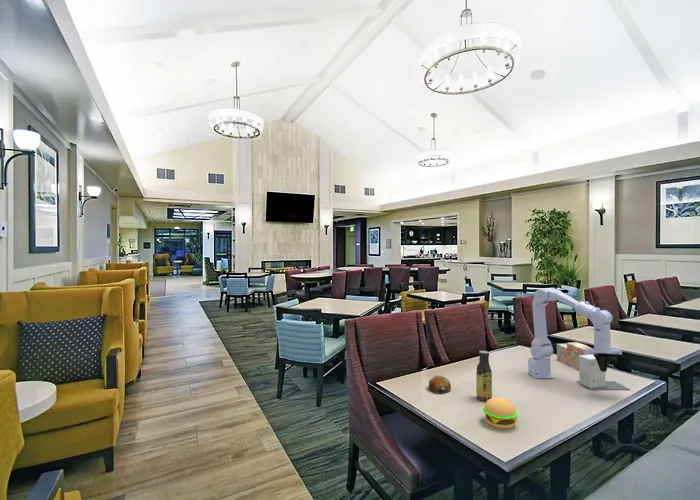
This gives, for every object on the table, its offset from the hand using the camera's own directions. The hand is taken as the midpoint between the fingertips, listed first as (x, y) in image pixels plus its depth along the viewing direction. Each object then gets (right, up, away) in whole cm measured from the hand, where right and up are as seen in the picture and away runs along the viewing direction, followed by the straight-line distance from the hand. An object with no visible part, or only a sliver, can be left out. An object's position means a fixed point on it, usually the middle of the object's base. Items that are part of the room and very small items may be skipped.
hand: (603, 371), depth 147 cm
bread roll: (-67, -12, +10) cm, 69 cm away
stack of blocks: (+13, -11, +39) cm, 42 cm away
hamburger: (-53, -12, -22) cm, 59 cm away
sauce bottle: (-51, -12, -1) cm, 52 cm away
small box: (+3, -10, +11) cm, 15 cm away
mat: (+7, -10, +10) cm, 16 cm away
